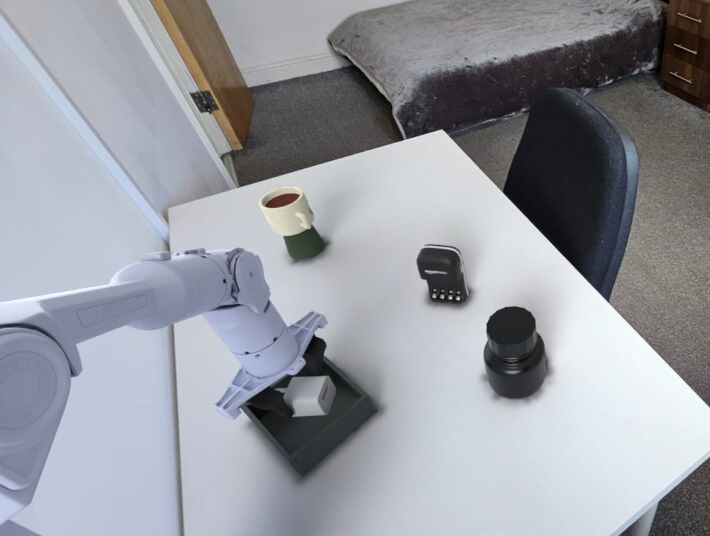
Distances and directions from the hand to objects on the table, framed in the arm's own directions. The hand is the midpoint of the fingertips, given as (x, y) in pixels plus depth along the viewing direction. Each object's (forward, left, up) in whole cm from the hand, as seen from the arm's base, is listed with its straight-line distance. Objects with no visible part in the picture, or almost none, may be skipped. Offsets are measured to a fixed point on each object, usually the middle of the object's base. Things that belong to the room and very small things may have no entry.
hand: (301, 396), depth 62 cm
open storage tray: (0, 0, -6) cm, 6 cm away
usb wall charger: (0, 0, -2) cm, 2 cm away
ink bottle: (+22, -18, -6) cm, 29 cm away
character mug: (+18, +33, -6) cm, 38 cm away
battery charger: (+26, +2, -6) cm, 27 cm away
